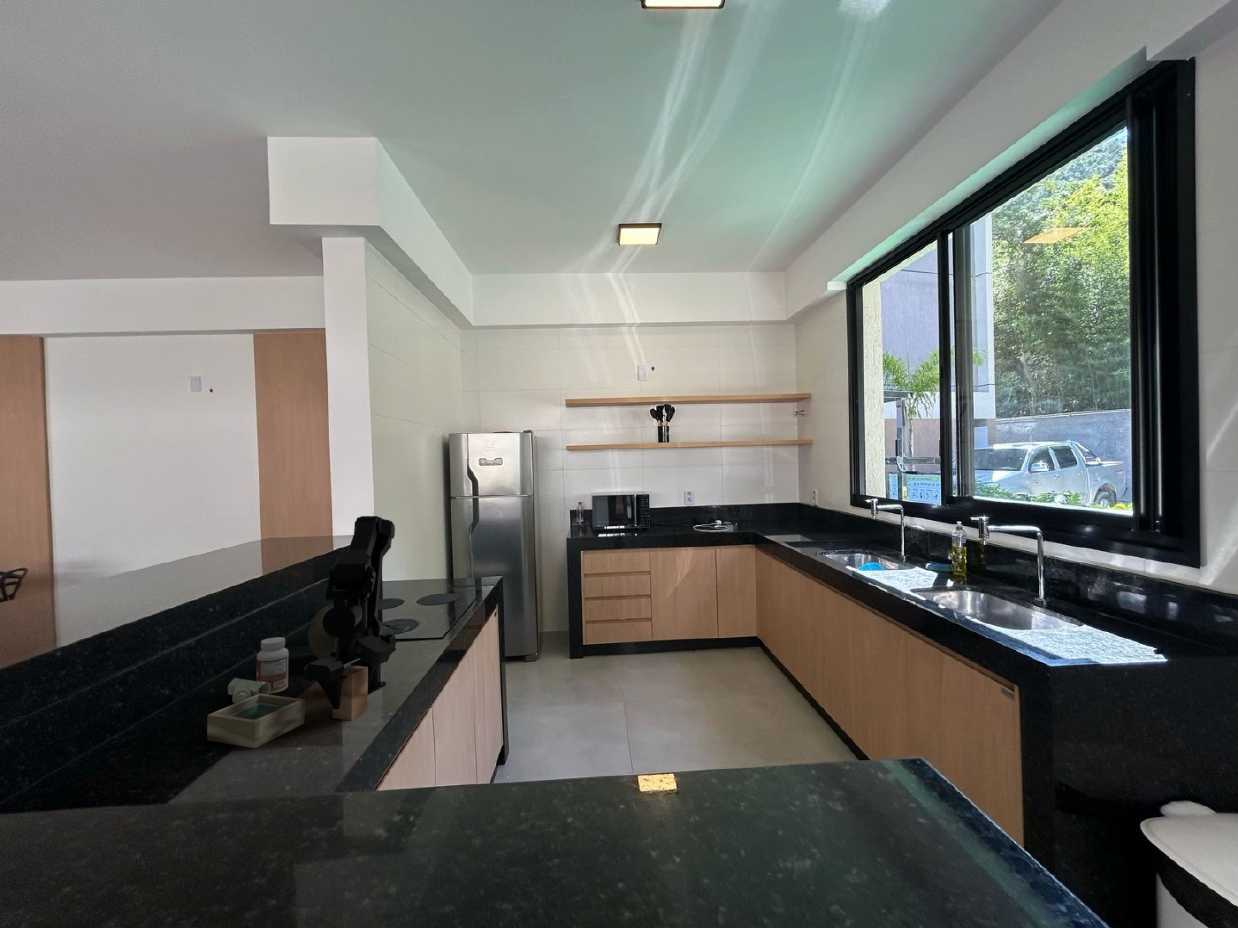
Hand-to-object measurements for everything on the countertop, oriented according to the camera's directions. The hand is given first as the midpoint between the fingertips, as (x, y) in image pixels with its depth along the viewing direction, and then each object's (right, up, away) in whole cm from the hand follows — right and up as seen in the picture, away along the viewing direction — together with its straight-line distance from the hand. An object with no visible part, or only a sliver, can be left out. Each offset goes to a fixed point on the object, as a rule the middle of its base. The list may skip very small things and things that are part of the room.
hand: (350, 701), depth 119 cm
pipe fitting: (-26, -3, +7) cm, 28 cm away
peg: (0, -3, 0) cm, 3 cm away
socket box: (-14, -2, -8) cm, 16 cm away
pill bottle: (-23, -3, +13) cm, 27 cm away
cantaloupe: (-18, -3, +32) cm, 37 cm away
